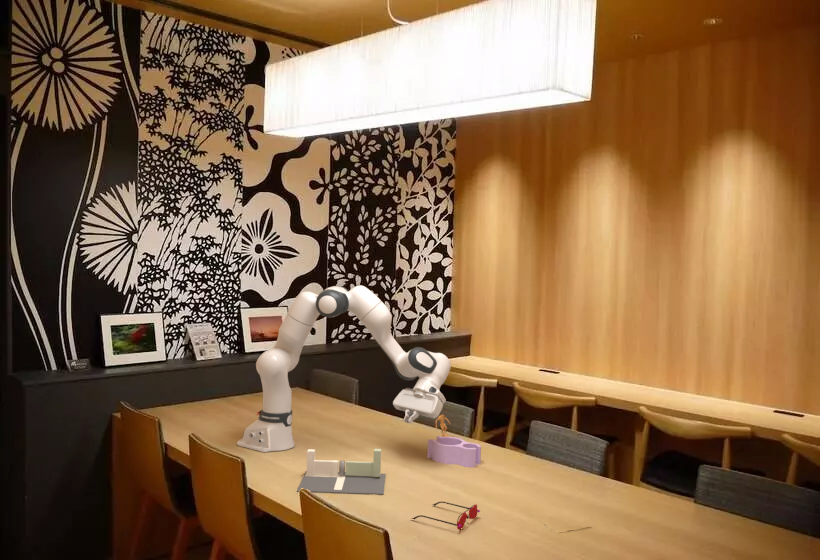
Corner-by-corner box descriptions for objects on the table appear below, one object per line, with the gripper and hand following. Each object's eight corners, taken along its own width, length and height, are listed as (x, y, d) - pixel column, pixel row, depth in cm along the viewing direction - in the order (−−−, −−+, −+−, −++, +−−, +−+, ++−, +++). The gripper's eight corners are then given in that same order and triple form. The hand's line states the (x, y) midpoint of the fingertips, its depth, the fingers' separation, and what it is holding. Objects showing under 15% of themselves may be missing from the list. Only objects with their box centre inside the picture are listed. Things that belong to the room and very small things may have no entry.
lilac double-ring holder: (485, 462, 255) (486, 444, 254) (469, 470, 244) (470, 451, 244) (440, 451, 266) (440, 434, 265) (423, 459, 255) (424, 441, 255)
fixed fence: (338, 475, 233) (338, 450, 232) (337, 478, 230) (338, 452, 230) (307, 474, 233) (308, 449, 232) (306, 477, 230) (307, 451, 230)
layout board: (296, 491, 217) (296, 490, 217) (305, 471, 236) (305, 470, 236) (383, 495, 217) (383, 493, 217) (385, 474, 236) (385, 473, 236)
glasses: (459, 535, 190) (460, 518, 189) (409, 521, 198) (409, 504, 198) (480, 519, 202) (480, 502, 201) (431, 506, 210) (432, 490, 210)
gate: (338, 475, 230) (339, 449, 230) (339, 473, 233) (340, 447, 232) (379, 477, 230) (380, 451, 230) (380, 474, 233) (381, 449, 232)
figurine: (441, 447, 270) (442, 417, 270) (430, 443, 275) (431, 414, 274) (455, 443, 276) (456, 415, 275) (445, 440, 280) (446, 412, 280)
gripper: (400, 382, 258) (382, 411, 252) (442, 391, 245) (424, 422, 238) (408, 392, 262) (390, 421, 255) (449, 401, 249) (432, 432, 242)
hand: (407, 421), depth 246 cm, fingers closed
